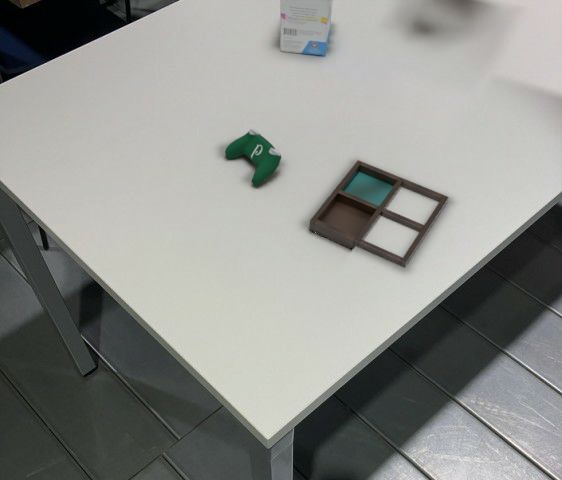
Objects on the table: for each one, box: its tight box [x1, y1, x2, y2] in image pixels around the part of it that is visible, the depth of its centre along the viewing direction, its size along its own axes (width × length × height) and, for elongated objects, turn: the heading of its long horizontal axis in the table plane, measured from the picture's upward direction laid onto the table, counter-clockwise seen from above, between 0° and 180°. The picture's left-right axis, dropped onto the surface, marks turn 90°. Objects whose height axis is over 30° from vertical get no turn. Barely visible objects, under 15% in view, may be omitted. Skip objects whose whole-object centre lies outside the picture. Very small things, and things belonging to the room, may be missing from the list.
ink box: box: [279, 0, 334, 57], centre depth 111 cm, size 9×8×13 cm
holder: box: [308, 160, 450, 268], centre depth 92 cm, size 15×15×2 cm
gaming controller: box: [224, 128, 282, 187], centre depth 97 cm, size 9×4×6 cm
